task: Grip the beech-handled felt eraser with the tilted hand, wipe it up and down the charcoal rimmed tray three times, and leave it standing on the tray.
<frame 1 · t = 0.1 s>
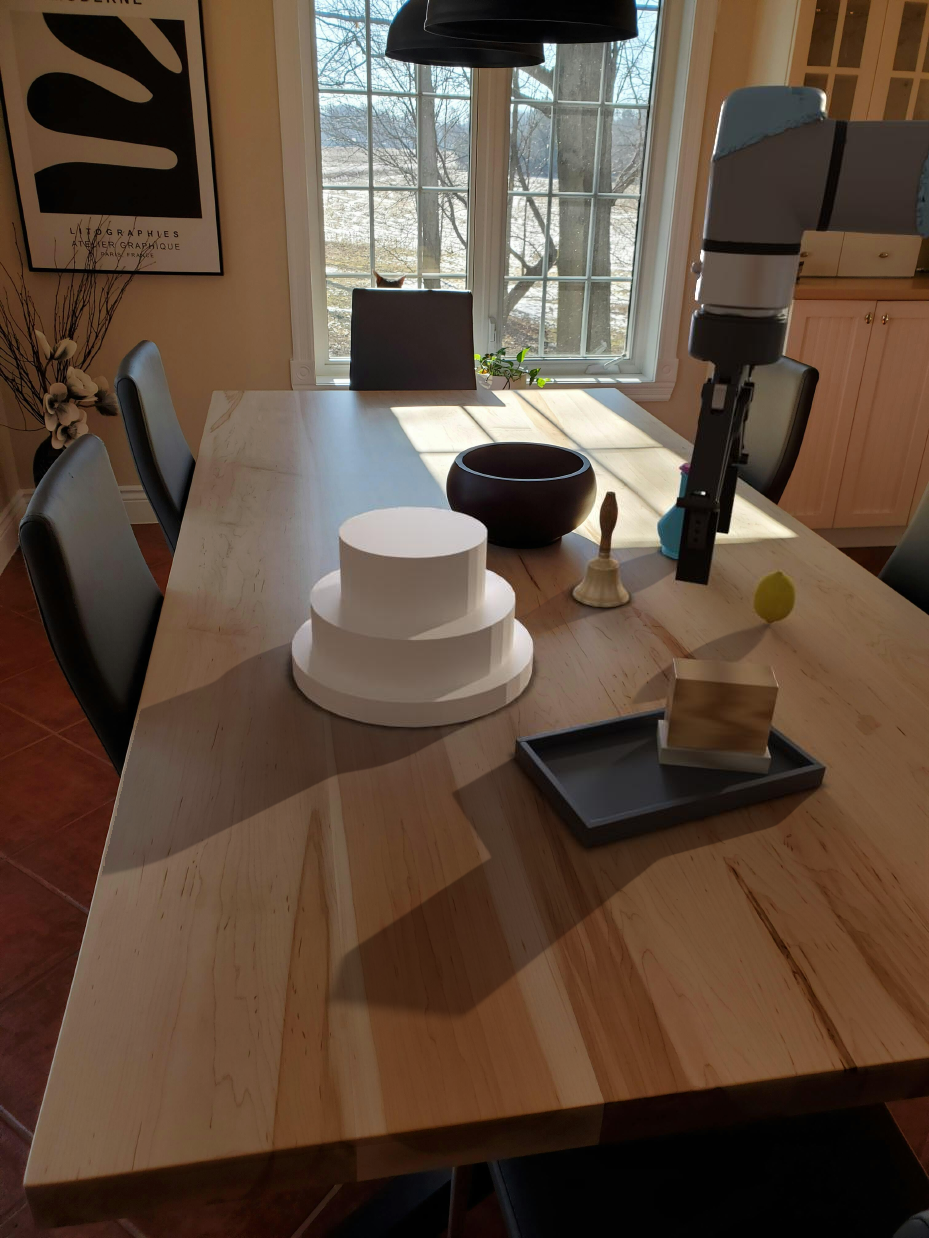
hand: (703, 554, 82), 25 cm above the table, tool pointing down, fingers open, 13 cm apart
cake: (413, 663, 114), on the table
lemon: (769, 624, 127), on the table
perfume bottle: (681, 553, 150), on the table
tray: (665, 770, 94), on the table
hand bell: (600, 597, 134), on the table
eraser: (710, 753, 96), point 1 cm above the table, touching tray
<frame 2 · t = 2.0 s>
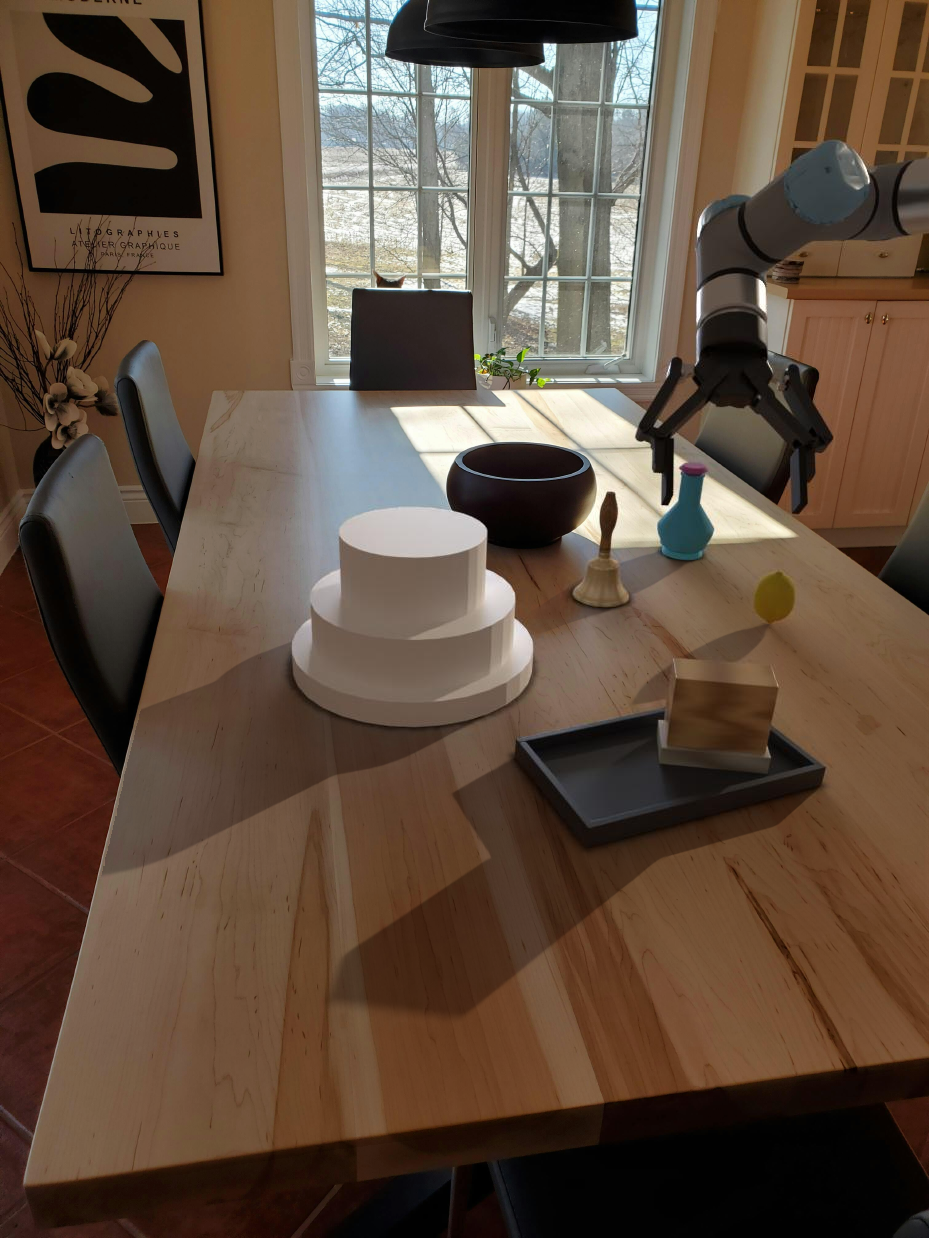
hand: (733, 504, 93), 25 cm above the table, tool tilted 45°, fingers open, 13 cm apart
nothing on the table moved.
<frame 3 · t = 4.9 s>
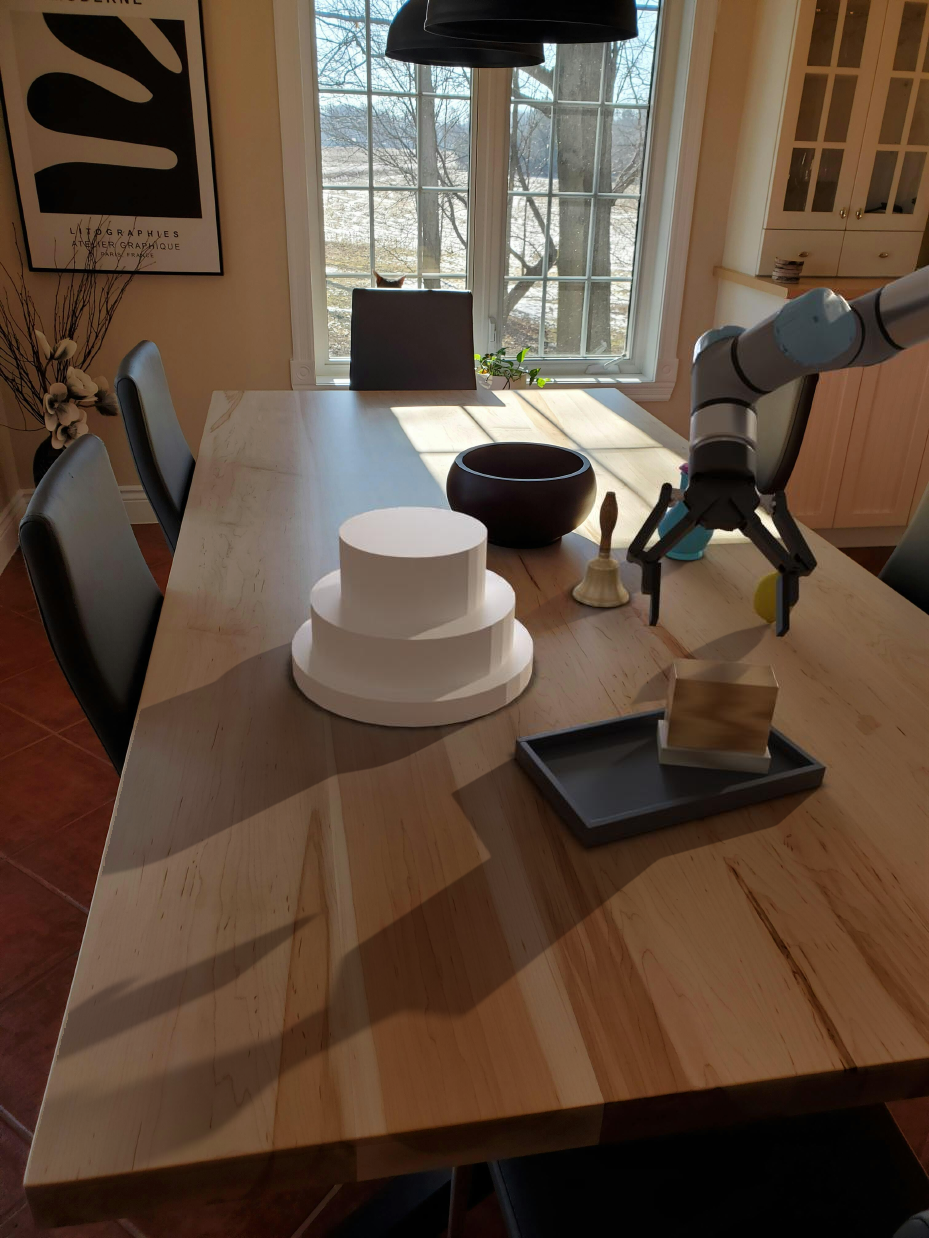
hand: (717, 627, 97), 12 cm above the table, tool tilted 45°, fingers open, 13 cm apart
nothing on the table moved.
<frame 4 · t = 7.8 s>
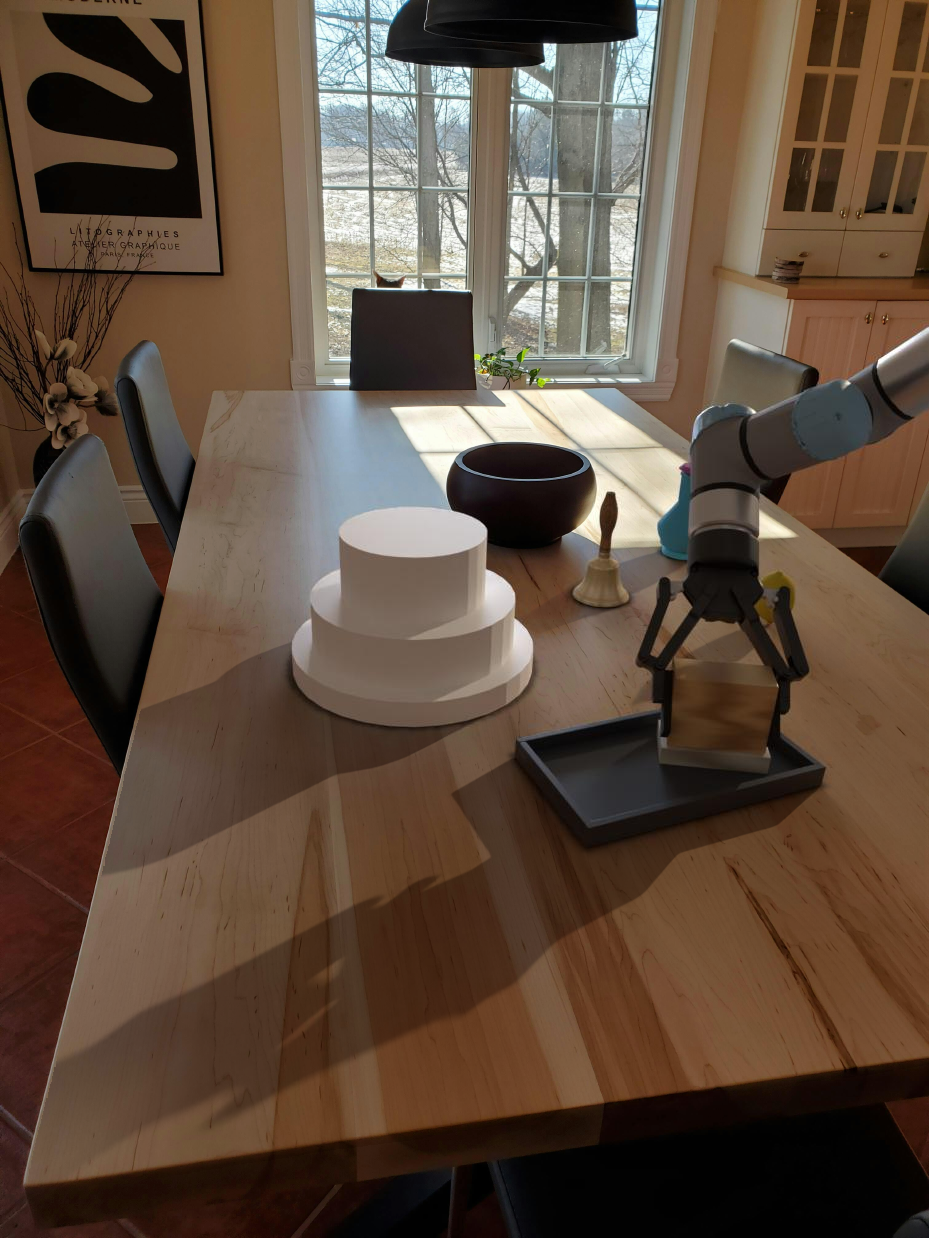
hand: (718, 739, 91), 5 cm above the table, tool tilted 45°, fingers closed on eraser, 10 cm apart
eraser: (710, 753, 96), point 1 cm above the table, touching gripper, tray
everything else where it was.
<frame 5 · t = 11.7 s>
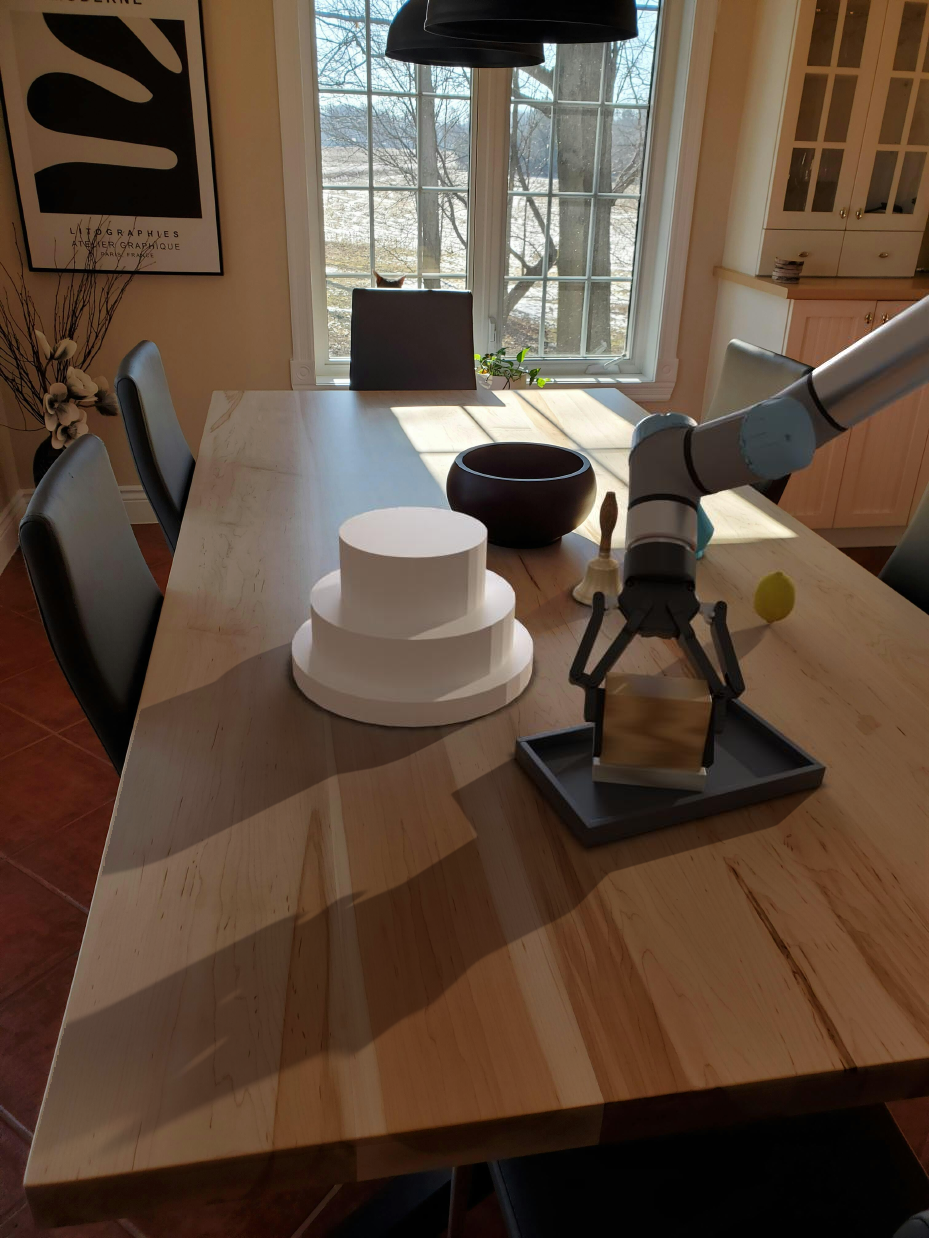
hand: (651, 760, 88), 4 cm above the table, tool tilted 45°, fingers closed on eraser, 10 cm apart
eraser: (646, 770, 92), point 1 cm above the table, touching gripper
everything else where it was.
when the fingers open (4 cm above the table, at t = 15.8 s): eraser stays where it is, resting on tray.
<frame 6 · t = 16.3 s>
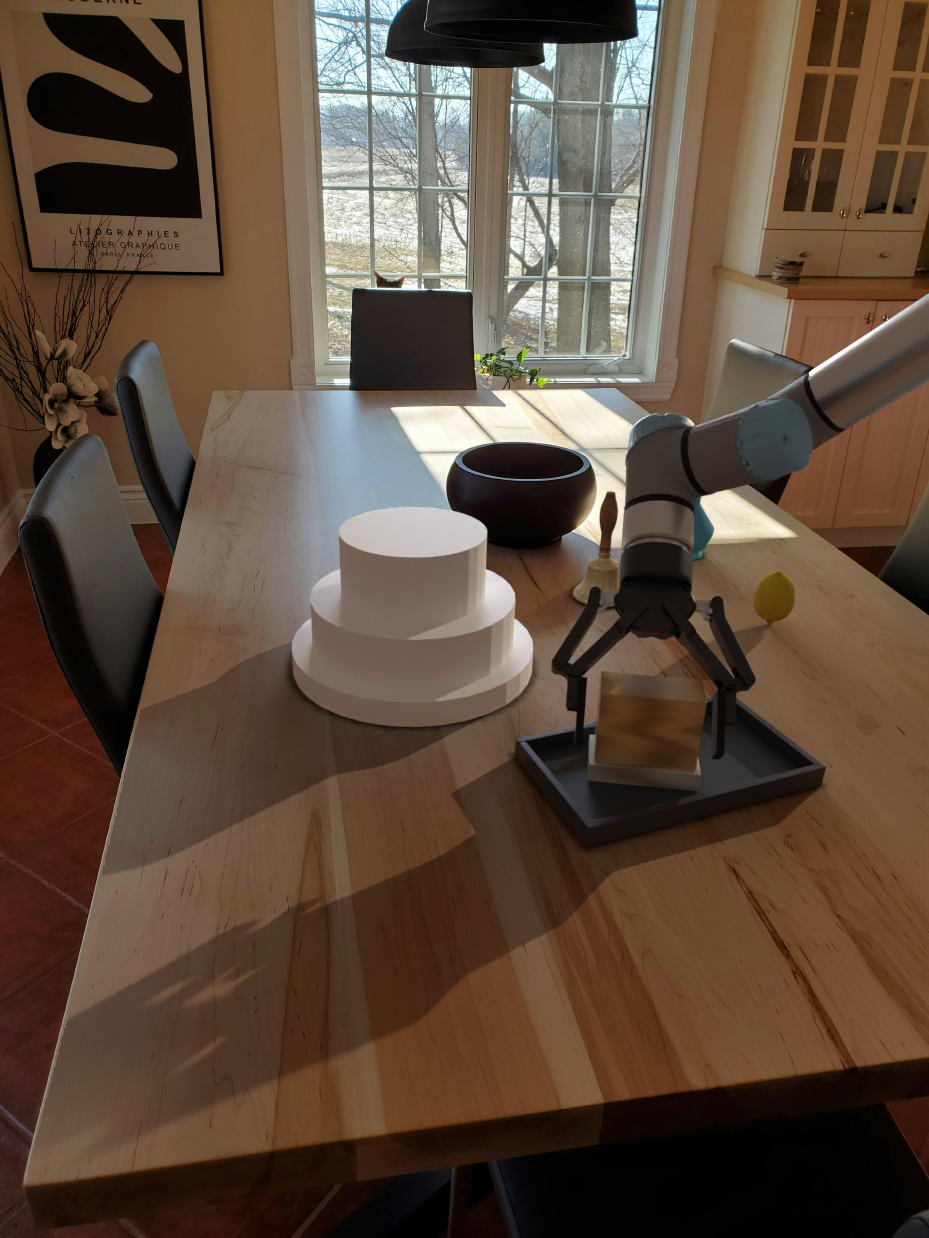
hand: (647, 750, 89), 5 cm above the table, tool tilted 45°, fingers open, 13 cm apart
eraser: (641, 770, 93), point 1 cm above the table, touching tray
everything else where it was.
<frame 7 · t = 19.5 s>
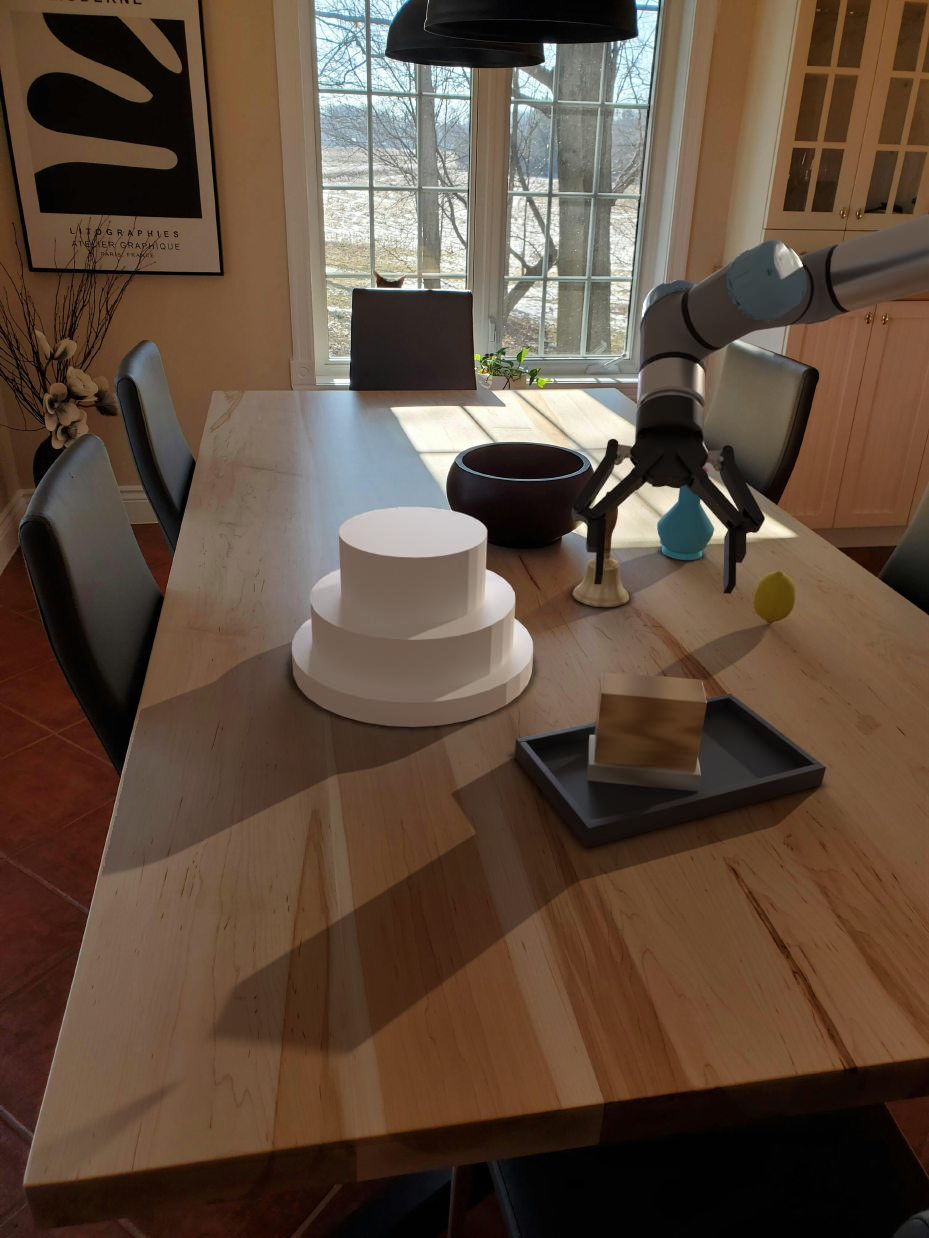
hand: (663, 584, 95), 17 cm above the table, tool tilted 45°, fingers open, 13 cm apart
nothing on the table moved.
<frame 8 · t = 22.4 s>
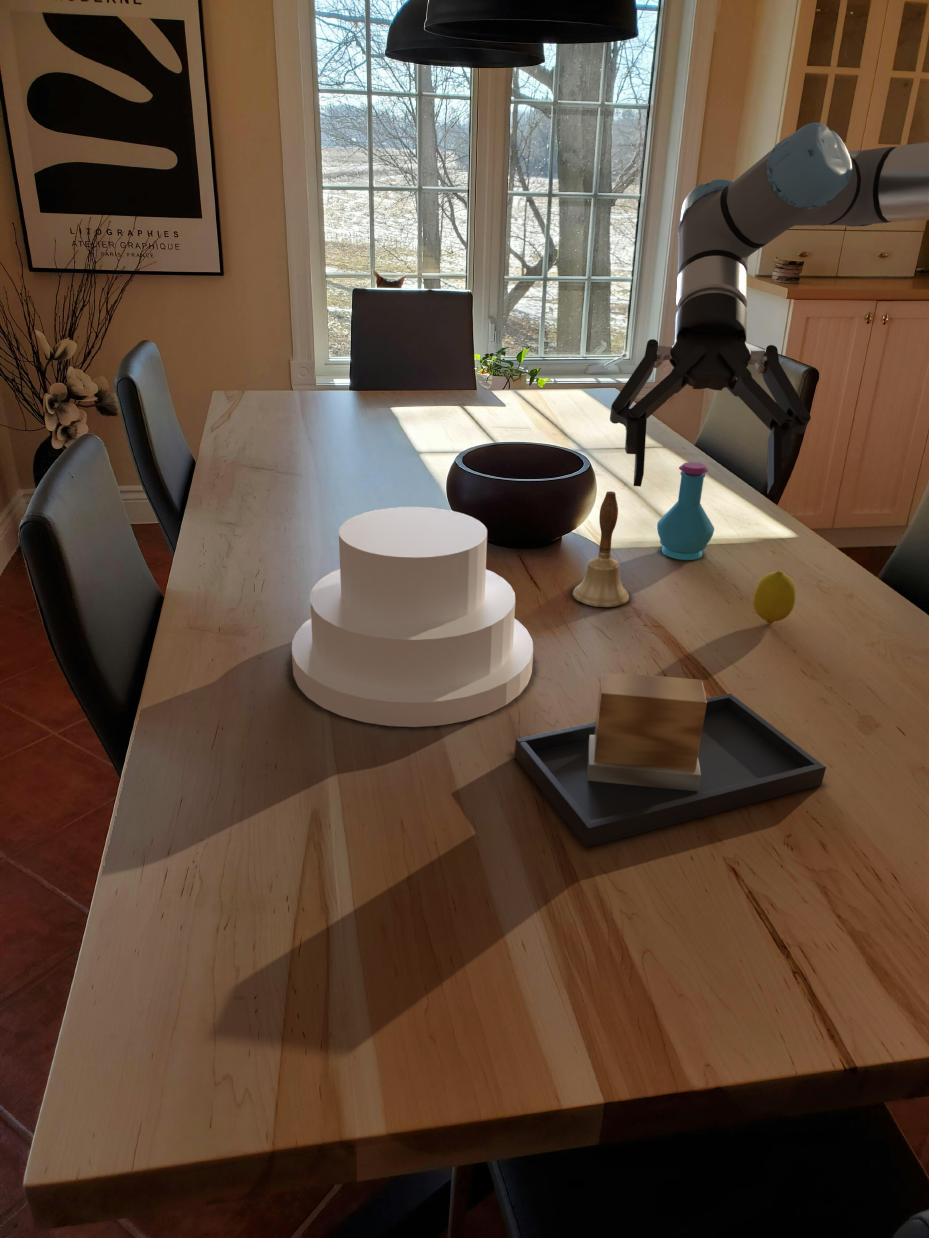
hand: (705, 484, 92), 28 cm above the table, tool tilted 45°, fingers open, 13 cm apart
nothing on the table moved.
at the end: eraser inside the target area in the tray (3.1 cm from its centre), point 0.8 cm above the tray's base; eraser tilted 0°; eraser moved 8.6 cm from its start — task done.
